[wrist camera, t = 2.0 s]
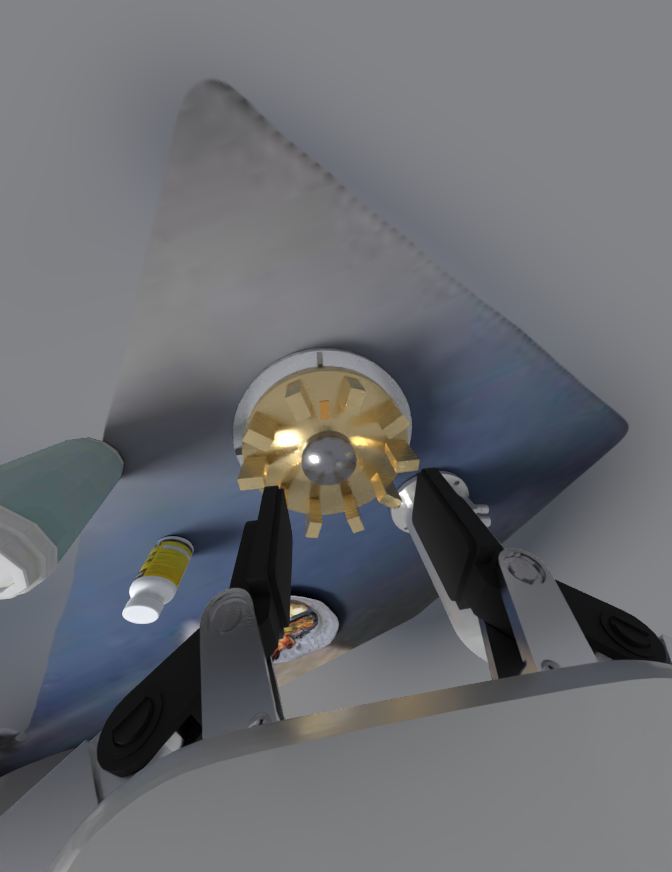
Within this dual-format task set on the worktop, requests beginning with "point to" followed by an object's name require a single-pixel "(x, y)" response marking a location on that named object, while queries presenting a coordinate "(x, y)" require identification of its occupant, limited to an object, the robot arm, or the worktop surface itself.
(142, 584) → the supplement bottle
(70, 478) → the disposable coffee cup
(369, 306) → the worktop surface
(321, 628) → the food plate
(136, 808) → the robot arm
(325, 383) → the bladed impeller wheel
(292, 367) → the light grey round disc
